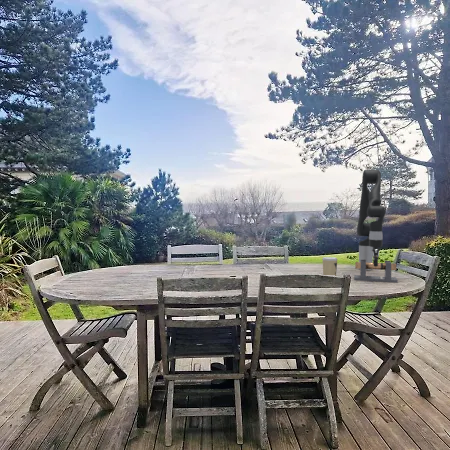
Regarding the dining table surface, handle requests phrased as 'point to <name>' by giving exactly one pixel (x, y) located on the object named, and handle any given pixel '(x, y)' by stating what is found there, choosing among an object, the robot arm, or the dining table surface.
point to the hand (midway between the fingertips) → (375, 265)
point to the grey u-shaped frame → (375, 278)
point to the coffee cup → (329, 265)
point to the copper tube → (371, 266)
